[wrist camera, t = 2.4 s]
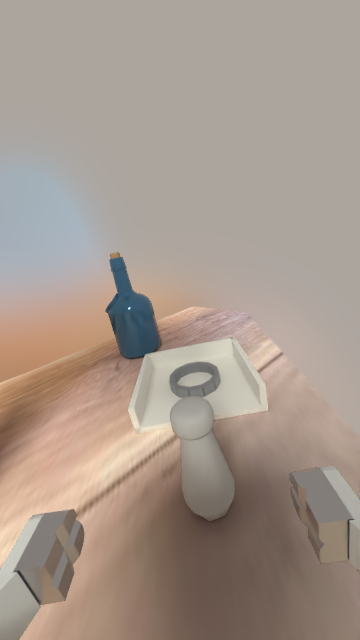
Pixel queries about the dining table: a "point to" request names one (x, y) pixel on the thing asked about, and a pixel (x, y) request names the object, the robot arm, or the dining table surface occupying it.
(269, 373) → the dining table surface
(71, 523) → the robot arm
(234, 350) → the box
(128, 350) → the wine bottle
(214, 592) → the dining table surface
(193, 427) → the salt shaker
